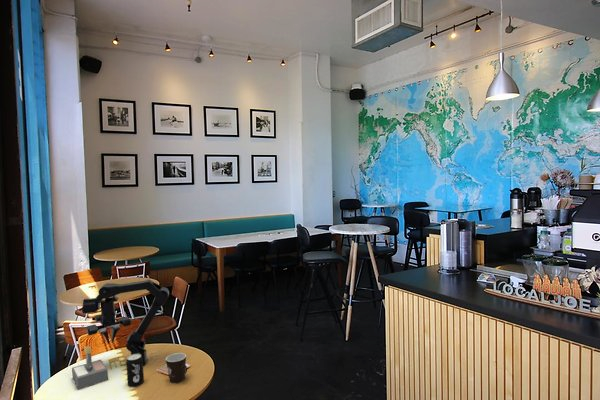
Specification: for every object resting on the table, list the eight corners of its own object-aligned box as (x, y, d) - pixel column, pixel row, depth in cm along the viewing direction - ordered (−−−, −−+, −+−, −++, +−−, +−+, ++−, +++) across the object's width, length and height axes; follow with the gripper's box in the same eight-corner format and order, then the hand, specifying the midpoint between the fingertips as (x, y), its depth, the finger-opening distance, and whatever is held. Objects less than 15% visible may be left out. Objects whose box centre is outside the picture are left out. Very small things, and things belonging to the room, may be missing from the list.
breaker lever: (90, 364, 185) (89, 345, 184) (93, 368, 180) (91, 349, 180) (85, 366, 183) (84, 347, 183) (88, 370, 179) (86, 350, 178)
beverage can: (128, 388, 173) (126, 361, 172) (127, 382, 178) (125, 355, 178) (144, 384, 176) (143, 357, 175) (143, 378, 181) (141, 352, 181)
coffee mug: (166, 377, 181) (164, 355, 181) (186, 372, 185) (184, 351, 184) (168, 389, 171) (167, 366, 170) (189, 384, 174) (188, 362, 173)
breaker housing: (101, 369, 191) (100, 359, 191) (108, 380, 181) (107, 368, 180) (72, 378, 184) (71, 367, 183) (78, 389, 173) (77, 378, 173)
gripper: (123, 302, 203) (126, 333, 204) (82, 311, 191) (84, 343, 192) (130, 307, 194) (132, 339, 195) (87, 317, 182) (89, 351, 183)
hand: (110, 343), depth 192 cm, fingers closed
